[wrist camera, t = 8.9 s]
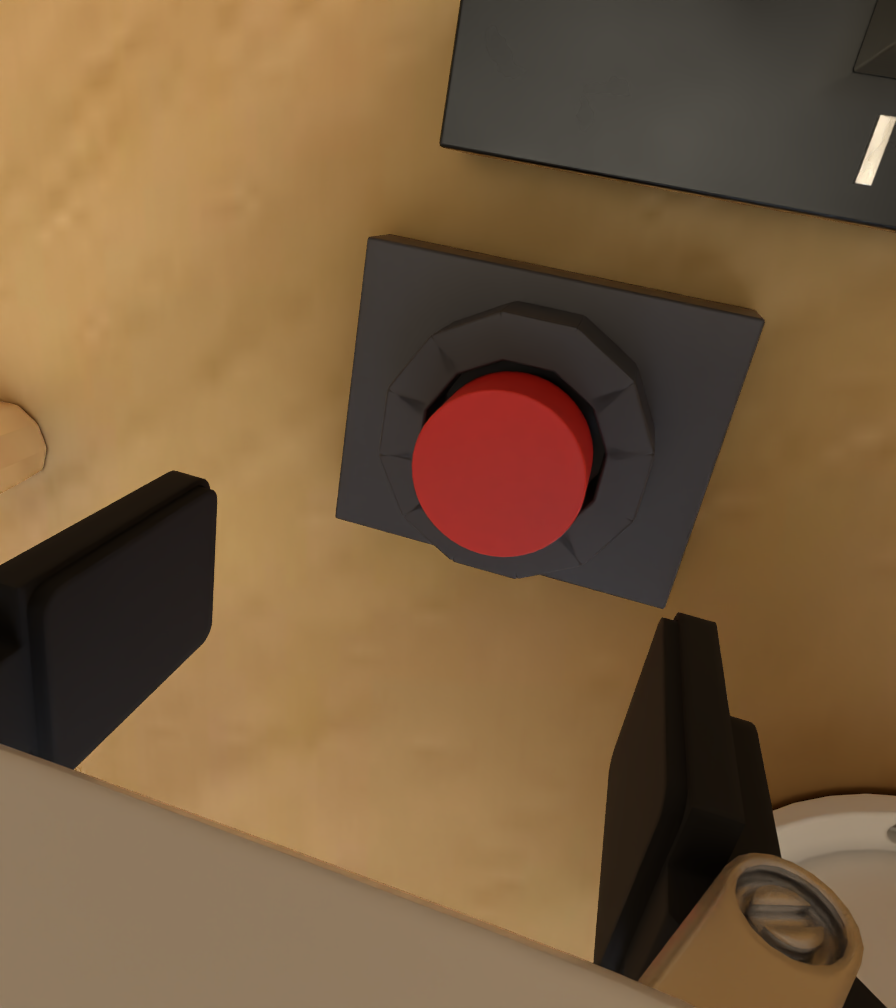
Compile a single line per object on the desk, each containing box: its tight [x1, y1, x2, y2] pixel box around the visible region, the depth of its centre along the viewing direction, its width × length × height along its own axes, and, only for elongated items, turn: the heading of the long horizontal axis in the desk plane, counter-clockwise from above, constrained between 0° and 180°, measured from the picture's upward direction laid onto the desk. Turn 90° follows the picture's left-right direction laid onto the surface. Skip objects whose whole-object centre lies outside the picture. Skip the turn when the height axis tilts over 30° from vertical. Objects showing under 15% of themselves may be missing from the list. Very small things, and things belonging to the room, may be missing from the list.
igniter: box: [336, 234, 765, 609], centre depth 21 cm, size 11×9×4 cm
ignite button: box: [412, 371, 593, 557], centre depth 19 cm, size 4×4×2 cm
